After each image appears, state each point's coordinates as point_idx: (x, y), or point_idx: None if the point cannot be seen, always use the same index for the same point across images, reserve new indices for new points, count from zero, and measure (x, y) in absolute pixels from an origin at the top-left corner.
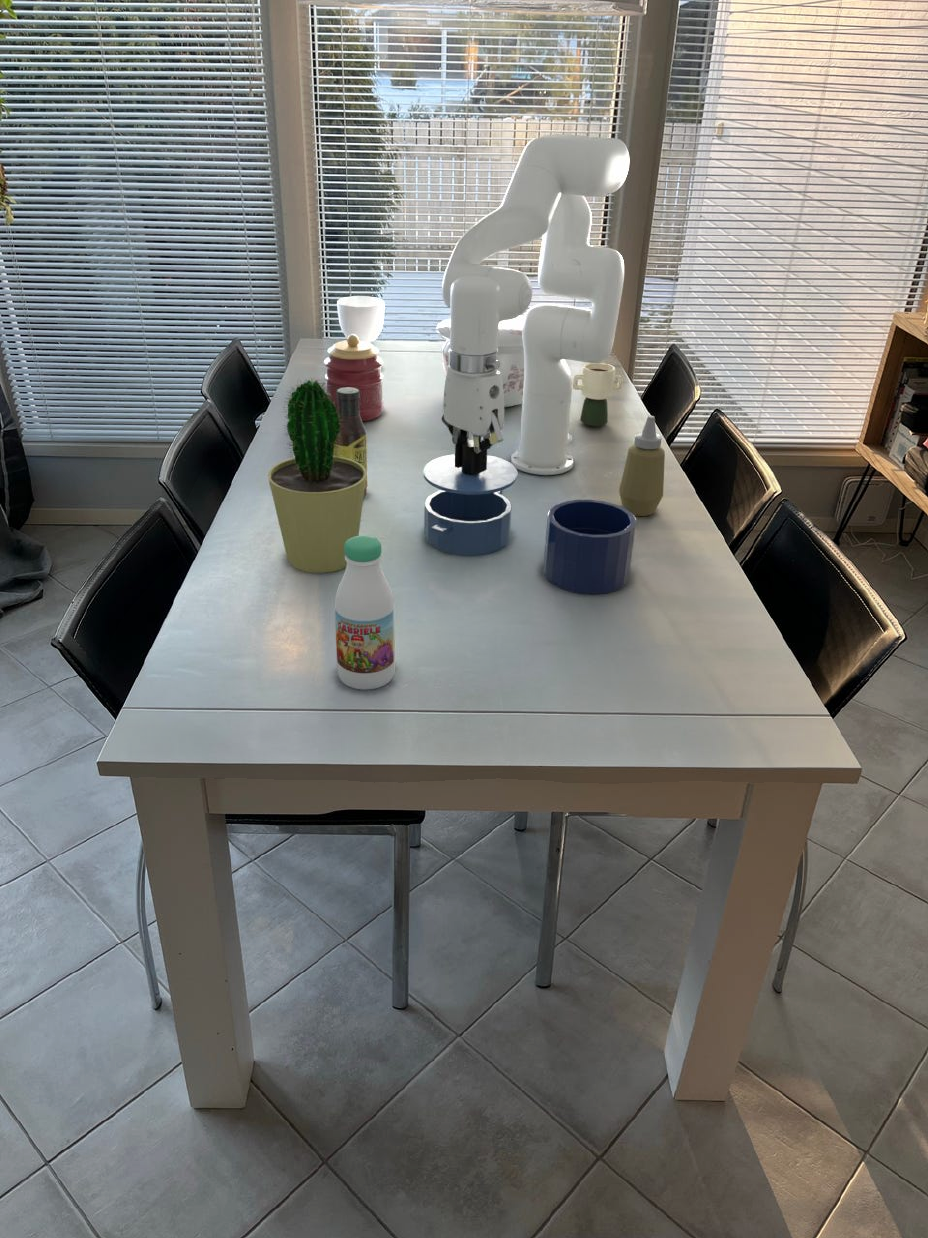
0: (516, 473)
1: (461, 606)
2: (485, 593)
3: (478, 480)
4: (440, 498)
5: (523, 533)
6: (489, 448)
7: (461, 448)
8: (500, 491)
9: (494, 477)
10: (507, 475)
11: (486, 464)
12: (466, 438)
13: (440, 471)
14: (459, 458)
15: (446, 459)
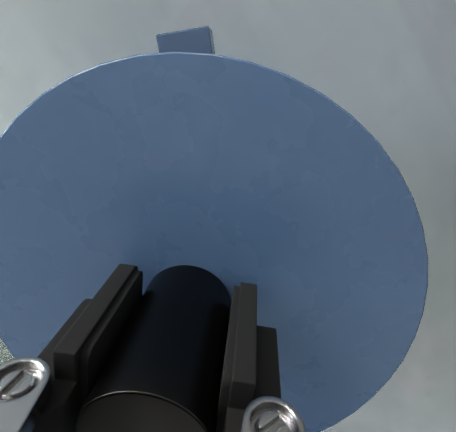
0: (399, 185)
1: (390, 427)
2: (407, 377)
3: (279, 353)
4: None
5: (337, 90)
6: (296, 417)
7: None
8: (211, 42)
9: (321, 290)
10: (366, 235)
11: (276, 334)
12: (54, 412)
13: None
14: None
15: (11, 262)
